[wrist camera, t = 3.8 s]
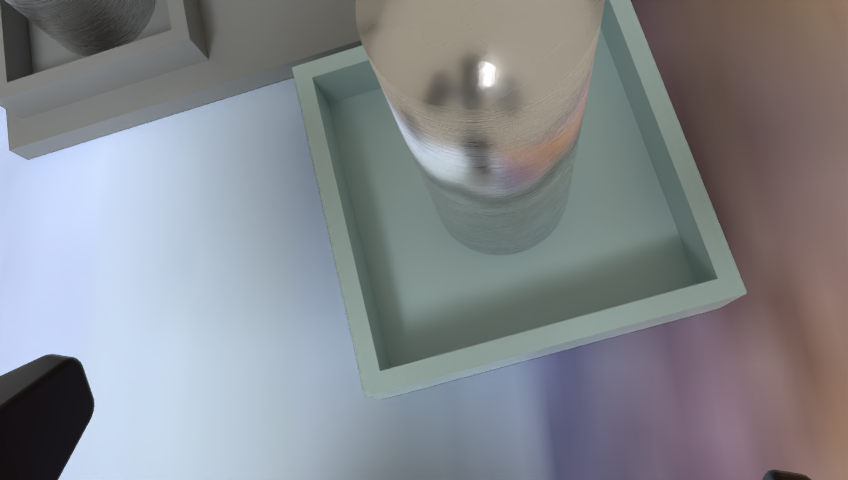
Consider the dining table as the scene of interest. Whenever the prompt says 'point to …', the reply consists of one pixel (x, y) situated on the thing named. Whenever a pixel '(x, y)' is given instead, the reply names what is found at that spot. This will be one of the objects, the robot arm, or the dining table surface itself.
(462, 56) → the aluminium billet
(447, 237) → the tote
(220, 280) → the dining table surface
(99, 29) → the billet
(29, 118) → the tray
